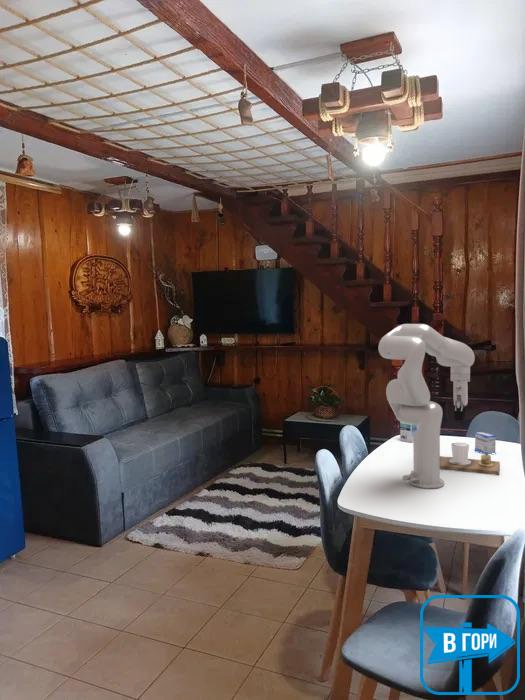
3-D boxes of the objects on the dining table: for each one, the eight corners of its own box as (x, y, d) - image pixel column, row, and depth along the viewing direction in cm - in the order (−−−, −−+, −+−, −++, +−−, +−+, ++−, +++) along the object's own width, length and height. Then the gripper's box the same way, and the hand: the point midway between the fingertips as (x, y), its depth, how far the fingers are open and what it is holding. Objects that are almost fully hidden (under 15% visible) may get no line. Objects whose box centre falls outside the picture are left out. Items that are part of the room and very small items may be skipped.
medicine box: (474, 451, 241) (474, 432, 241) (481, 449, 243) (481, 431, 242) (488, 455, 234) (488, 436, 233) (495, 453, 236) (495, 434, 235)
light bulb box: (412, 443, 258) (411, 421, 257) (399, 441, 263) (399, 419, 262) (422, 438, 266) (422, 417, 265) (409, 436, 270) (409, 416, 270)
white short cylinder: (450, 462, 217) (450, 445, 217) (452, 457, 224) (452, 441, 223) (467, 464, 214) (468, 447, 214) (469, 459, 220) (469, 443, 220)
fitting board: (435, 468, 217) (435, 456, 216) (439, 459, 229) (439, 447, 229) (498, 475, 207) (499, 461, 206) (499, 465, 219) (499, 452, 219)
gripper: (468, 380, 207) (467, 423, 208) (471, 375, 223) (470, 415, 224) (448, 379, 210) (448, 421, 211) (452, 374, 226) (452, 414, 227)
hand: (459, 418), depth 217 cm, fingers open, 9 cm apart
